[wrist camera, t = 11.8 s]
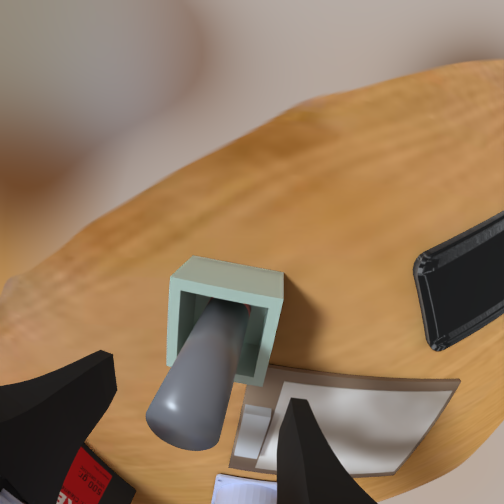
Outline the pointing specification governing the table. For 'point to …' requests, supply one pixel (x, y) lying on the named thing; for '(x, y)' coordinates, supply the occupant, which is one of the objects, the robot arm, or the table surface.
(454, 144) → the table surface
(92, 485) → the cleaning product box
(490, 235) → the phone
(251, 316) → the box
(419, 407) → the clipboard
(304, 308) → the table surface
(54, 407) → the robot arm
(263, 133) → the table surface
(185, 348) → the marker
